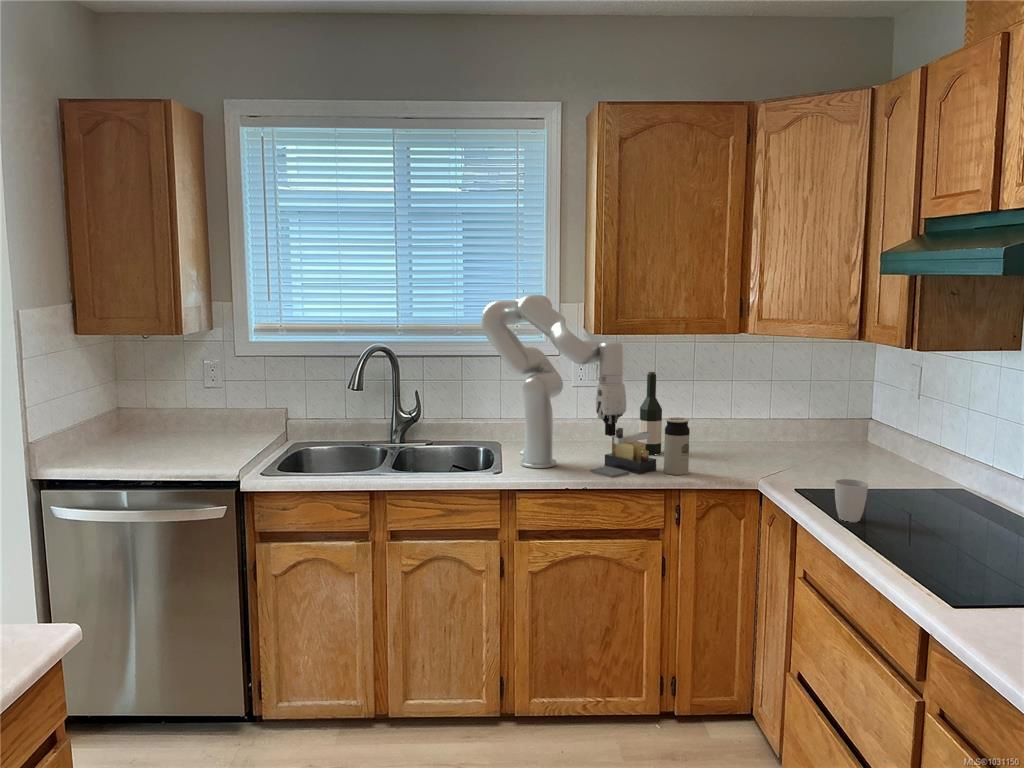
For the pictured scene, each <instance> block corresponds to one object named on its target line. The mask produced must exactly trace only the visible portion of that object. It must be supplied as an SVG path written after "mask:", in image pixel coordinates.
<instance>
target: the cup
mask: <svg viewBox="0 0 1024 768" xmlns="http://www.w3.org/2000/svg"><path fill="white" fill-rule="evenodd" d="M868 489H869V483H867V482H865V481H863V480H857V479H852V478H841V479H836V480H835V481H834V500H835V508H836V513H837V516H838V519H839V520H840V519H841V520H840V521H842V520H844V521H843V522H845V521H849V522H848V523H858V521H859V522H860V520H861V518H862V517H863V513H864V510H865V506H866V502H867V497H868V496H867V495H868Z"/></svg>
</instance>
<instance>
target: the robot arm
mask: <svg viewBox="0 0 1024 768" xmlns="http://www.w3.org/2000/svg"><path fill="white" fill-rule="evenodd" d="M566 321H567V320H566V318H565V316H563V315H562V314H561V313H560V312H558V311H557V310H555V309H554V308H553V303H552V302H551V300H550V298H548V297H547V296H545V295H542V294H529V295H526V296H525V295H524V296H523V297H522V298H519V299H518V298H517V299H510V300H509V299H508V300H495V301H492V302H490V303H489V304H487V305H486V306H485V308H484V309H483V311H482V314H481V327H482V331H483V333H484V335H485V336H486V339H487V340H488V341H489V342H490V344H491V345H492V346H493V348H494V349H495V350H496V351H497V353H498V355H499V356H500V357H501V359H502V360H503V362H504V363H505V364H506V365H507V367H508V369H509V370H510V371H511V372H512V373H513V375H516V376H518V377H521V376H528V377H527V378H525V380H524V381H523V385H522V396H523V397H522V398H523V402H524V448H523V449H522V450H520V451H519V455H520V456H522V457H523V459H521V460H519V461H520V466H522V467H526V468H531V469H545V468H546V469H547V468H554V467H555V466H557V464H558V461H557V460H556V459H554V458H553V449H554V447H553V443H554V441H553V440H554V438H553V433H554V432H553V427H554V425H553V420H554V419H553V416H554V415H553V407H552V402H551V399H553V398H556V397H558V396H559V395H560V394H561V392H562V391H563V389H564V382H563V378H562V377H561V375H560V373H559V372H558V371H557V369H556V368H555V366H554V365H553V364H552V362H551V361H550V359H549V358H548V357H547V356H546V354H545V353H544V352H543V351H541V350H540V348H537V347H534V346H525V345H524V344H523V342H521V340H520V339H519V338H518V336H517V335H516V334H515V333H514V332H513V331H512V330H511V329H510V328H509V327H508V325H515V324H523V323H529V324H531V326H534V328H536V329H537V330H539V331H540V332H541V333H542V334H544V335H545V336H546V337H548V338H549V340H550V342H551V343H552V344H553V346H554V347H555V348H556V349H557V351H559V352H560V353H561V354H562V355H563V356H565V357H566V358H568V360H570V361H571V362H573V363H575V364H577V365H582V366H584V365H585V366H586V365H589V364H595V363H598V364H599V365H598V366H599V368H598V369H599V370H598V371H599V373H598V375H599V377H598V378H597V380H598V382H599V383H598V385H597V389H596V390H597V391H596V398H595V399H596V401H595V412H596V414H597V419H599V420H602V421H603V424H604V435H605V436H609V437H612V436H616V428H617V427H616V424H617V423H618V420H619V418H621V417H623V415H624V414H625V413H626V412H627V394H626V388H625V384H624V383H623V374H624V373H623V371H624V369H623V365H624V364H623V363H624V361H623V360H624V359H623V357H624V354H623V353H624V346H623V344H622V342H619V341H600V340H595V339H591V340H582V339H581V338H579V337H577V336H576V335H575V334H574V333H573V332H571V331H570V330H569V328H568V327H567V325H566Z"/></svg>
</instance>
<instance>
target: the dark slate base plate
mask: <svg viewBox="0 0 1024 768" xmlns="http://www.w3.org/2000/svg"><path fill="white" fill-rule="evenodd" d="M614 437H616V435H615V436H611V439H612V440H611V452H609V453H605V454H604V467H605V466H609V467H613V468H617V469H621V470H625V471H629V473H633V474H636V475H643V474H649V473H652V472H656V471H657V458H652V457H650V455H649V451H646V450H643V451H641V459H636V460H631V459H626V458H622V457H617V456H615V447H616V444H615V443H614Z"/></svg>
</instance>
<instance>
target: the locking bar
mask: <svg viewBox="0 0 1024 768" xmlns="http://www.w3.org/2000/svg"><path fill="white" fill-rule="evenodd" d="M615 436H616V437H614V443H615V444H622V443H628V442H633V441H638V442H639V440H644V439H649V438H651V432H641V433H640V432H637V433H631V434H625V435H624V428H623V427H615Z"/></svg>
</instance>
